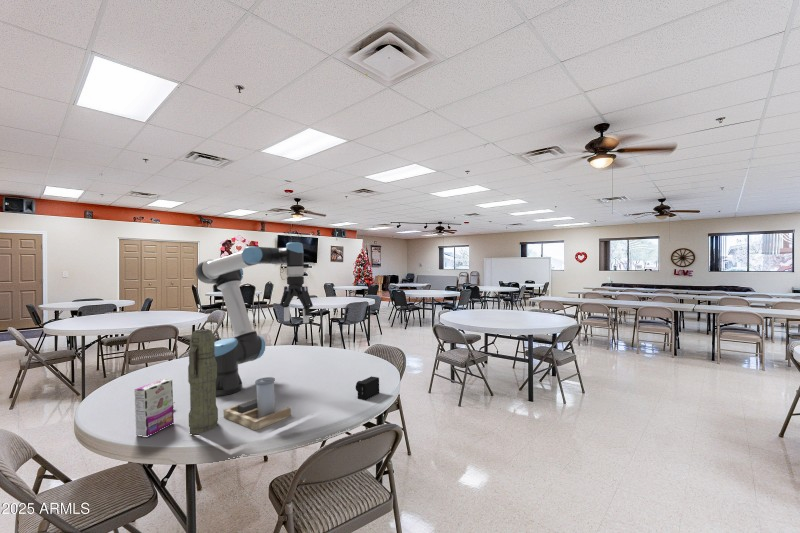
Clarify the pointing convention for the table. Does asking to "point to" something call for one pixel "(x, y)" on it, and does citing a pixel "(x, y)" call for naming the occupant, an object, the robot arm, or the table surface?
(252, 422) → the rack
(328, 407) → the table surface
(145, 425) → the candy bar box
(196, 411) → the thermos
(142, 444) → the table surface
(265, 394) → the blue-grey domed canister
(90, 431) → the table surface
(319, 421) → the table surface
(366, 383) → the digital camera
